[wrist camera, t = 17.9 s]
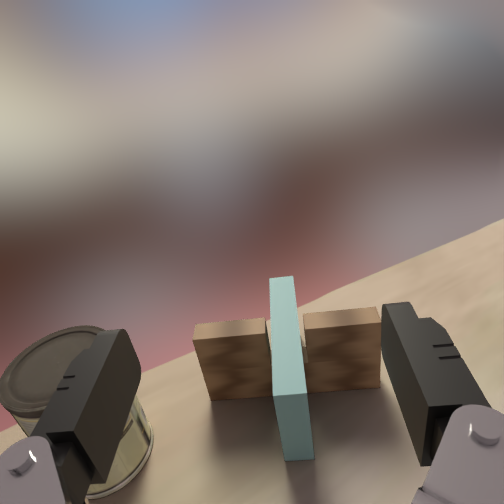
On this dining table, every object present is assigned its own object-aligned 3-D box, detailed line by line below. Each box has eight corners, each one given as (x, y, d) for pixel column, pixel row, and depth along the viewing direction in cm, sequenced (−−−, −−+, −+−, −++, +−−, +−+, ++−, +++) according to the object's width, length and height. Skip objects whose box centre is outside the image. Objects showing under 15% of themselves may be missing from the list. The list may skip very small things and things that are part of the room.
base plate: (210, 400, 47) (192, 339, 42) (213, 383, 49) (195, 324, 44) (379, 387, 45) (381, 322, 40) (374, 370, 47) (375, 306, 42)
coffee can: (40, 471, 42) (-25, 383, 35) (113, 399, 50) (71, 314, 42) (100, 522, 37) (37, 430, 30) (172, 433, 44) (135, 342, 37)
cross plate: (284, 461, 39) (272, 395, 34) (278, 336, 55) (269, 278, 50) (314, 459, 39) (307, 393, 34) (299, 334, 55) (292, 275, 50)
